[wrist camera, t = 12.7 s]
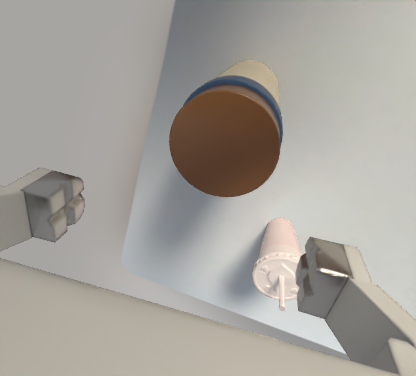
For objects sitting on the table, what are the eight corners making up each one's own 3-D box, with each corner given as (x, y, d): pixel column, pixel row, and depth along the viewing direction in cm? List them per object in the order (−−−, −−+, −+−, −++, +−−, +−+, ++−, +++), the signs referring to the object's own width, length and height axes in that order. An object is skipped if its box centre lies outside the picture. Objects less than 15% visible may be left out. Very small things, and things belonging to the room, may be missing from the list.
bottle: (205, 84, 34) (156, 119, 20) (258, 45, 31) (244, 54, 17) (238, 134, 35) (214, 198, 22) (291, 101, 33) (302, 152, 19)
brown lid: (161, 120, 20) (147, 131, 18) (243, 60, 17) (239, 63, 15) (215, 195, 21) (209, 213, 19) (298, 152, 19) (301, 166, 17)
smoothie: (305, 210, 38) (319, 291, 26) (302, 249, 41) (313, 338, 29) (256, 208, 40) (248, 285, 28) (256, 246, 43) (249, 330, 30)
